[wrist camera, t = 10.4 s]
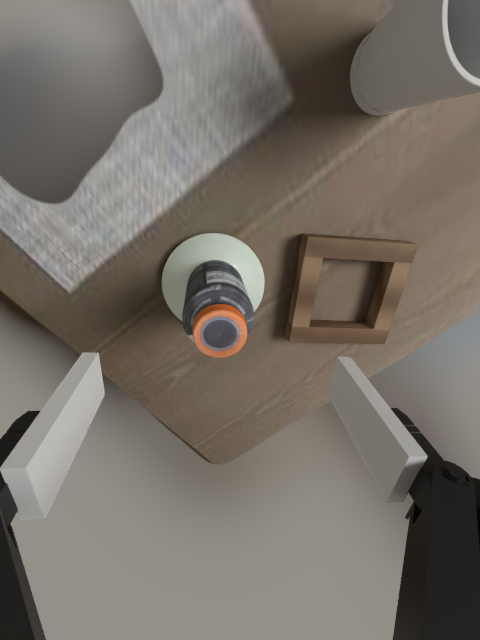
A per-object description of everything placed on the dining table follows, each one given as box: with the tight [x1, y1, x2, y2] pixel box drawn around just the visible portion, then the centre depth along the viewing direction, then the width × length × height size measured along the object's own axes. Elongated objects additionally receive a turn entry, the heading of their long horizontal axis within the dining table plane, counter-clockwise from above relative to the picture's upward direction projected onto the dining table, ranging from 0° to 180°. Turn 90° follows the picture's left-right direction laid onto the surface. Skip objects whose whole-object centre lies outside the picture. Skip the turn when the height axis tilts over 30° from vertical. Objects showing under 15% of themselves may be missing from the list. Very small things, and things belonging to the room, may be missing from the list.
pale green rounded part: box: [162, 232, 265, 322], centre depth 31 cm, size 11×11×1 cm
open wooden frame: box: [285, 234, 418, 344], centre depth 33 cm, size 12×12×2 cm
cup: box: [350, 0, 480, 116], centre depth 20 cm, size 8×8×12 cm
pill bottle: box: [182, 260, 254, 358], centre depth 26 cm, size 6×6×11 cm
